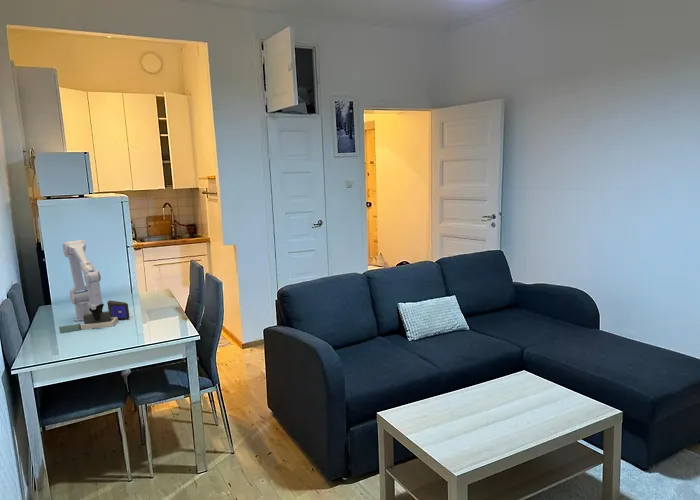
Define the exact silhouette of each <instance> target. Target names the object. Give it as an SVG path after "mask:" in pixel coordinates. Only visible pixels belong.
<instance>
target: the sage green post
mask: <svg viewBox="0 0 700 500" xmlns="http://www.w3.org/2000/svg"><path fill="white" fill-rule="evenodd" d="M81 325H82V323H73V324H67V325H66V324H65V325H60V326H58V330H59V333H60V334H61V333H67V332H74V331H79V330H82V326H81Z"/></svg>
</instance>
